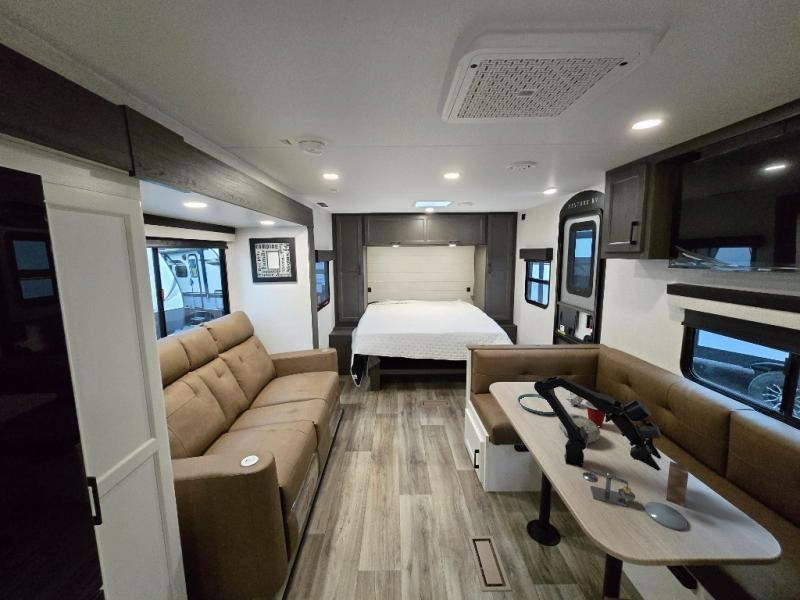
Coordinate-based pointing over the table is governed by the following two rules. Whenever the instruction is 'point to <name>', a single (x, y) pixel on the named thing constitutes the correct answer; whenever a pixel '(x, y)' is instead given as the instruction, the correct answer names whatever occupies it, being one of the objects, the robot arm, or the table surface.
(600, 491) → the balance
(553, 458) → the table surface
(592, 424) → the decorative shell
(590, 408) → the plastic cup
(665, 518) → the slate dish
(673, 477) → the walnut block
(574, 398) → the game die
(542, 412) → the teal ring
